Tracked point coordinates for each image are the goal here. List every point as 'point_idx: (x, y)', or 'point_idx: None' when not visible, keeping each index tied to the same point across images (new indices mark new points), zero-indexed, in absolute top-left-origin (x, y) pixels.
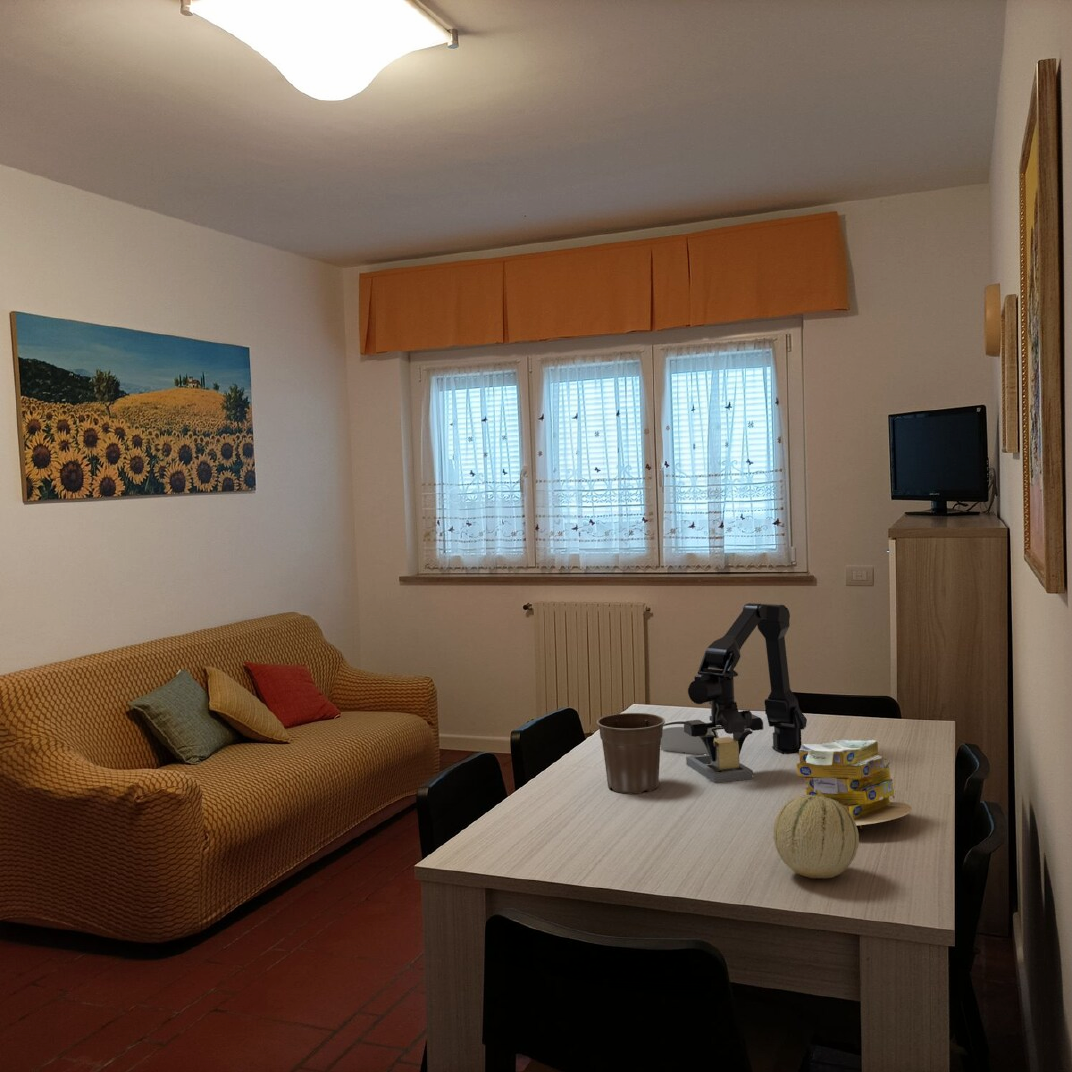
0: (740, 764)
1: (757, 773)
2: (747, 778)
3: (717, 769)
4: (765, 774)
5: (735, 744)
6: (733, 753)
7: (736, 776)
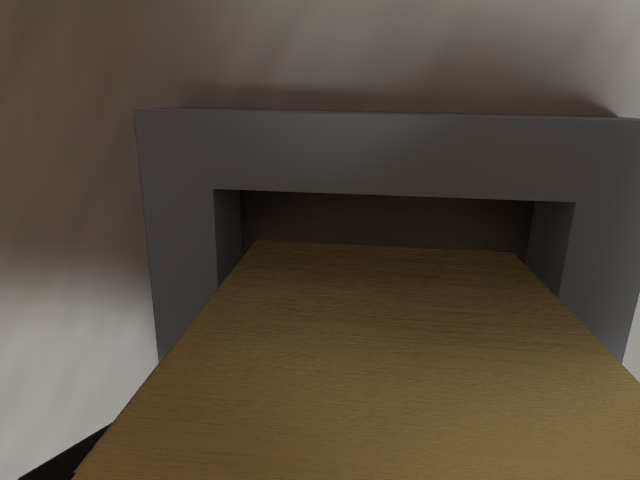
0: None
1: (78, 249)
2: (230, 109)
3: None
4: (19, 191)
5: (171, 464)
6: (292, 331)
7: (353, 112)
